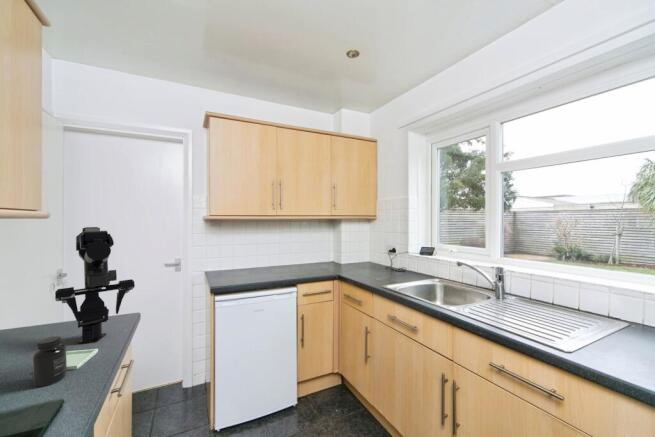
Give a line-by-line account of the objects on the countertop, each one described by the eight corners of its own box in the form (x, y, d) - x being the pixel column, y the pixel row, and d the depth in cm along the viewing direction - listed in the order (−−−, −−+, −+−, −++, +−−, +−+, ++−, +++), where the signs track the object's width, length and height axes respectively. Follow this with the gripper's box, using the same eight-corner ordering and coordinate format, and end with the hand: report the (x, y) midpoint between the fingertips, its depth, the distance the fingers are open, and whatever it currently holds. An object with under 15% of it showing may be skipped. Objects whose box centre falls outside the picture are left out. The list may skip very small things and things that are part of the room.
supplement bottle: (65, 370, 84) (64, 332, 84) (68, 379, 80) (68, 338, 79) (32, 381, 79) (31, 340, 78) (34, 390, 74) (33, 347, 74)
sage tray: (61, 355, 93) (61, 351, 92) (98, 351, 95) (98, 348, 95) (35, 373, 82) (35, 369, 82) (77, 369, 84) (77, 365, 84)
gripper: (54, 266, 75) (54, 323, 72) (135, 258, 88) (139, 307, 85) (56, 274, 83) (55, 327, 79) (130, 266, 96) (133, 311, 92)
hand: (98, 317), depth 84 cm, fingers open, 9 cm apart
